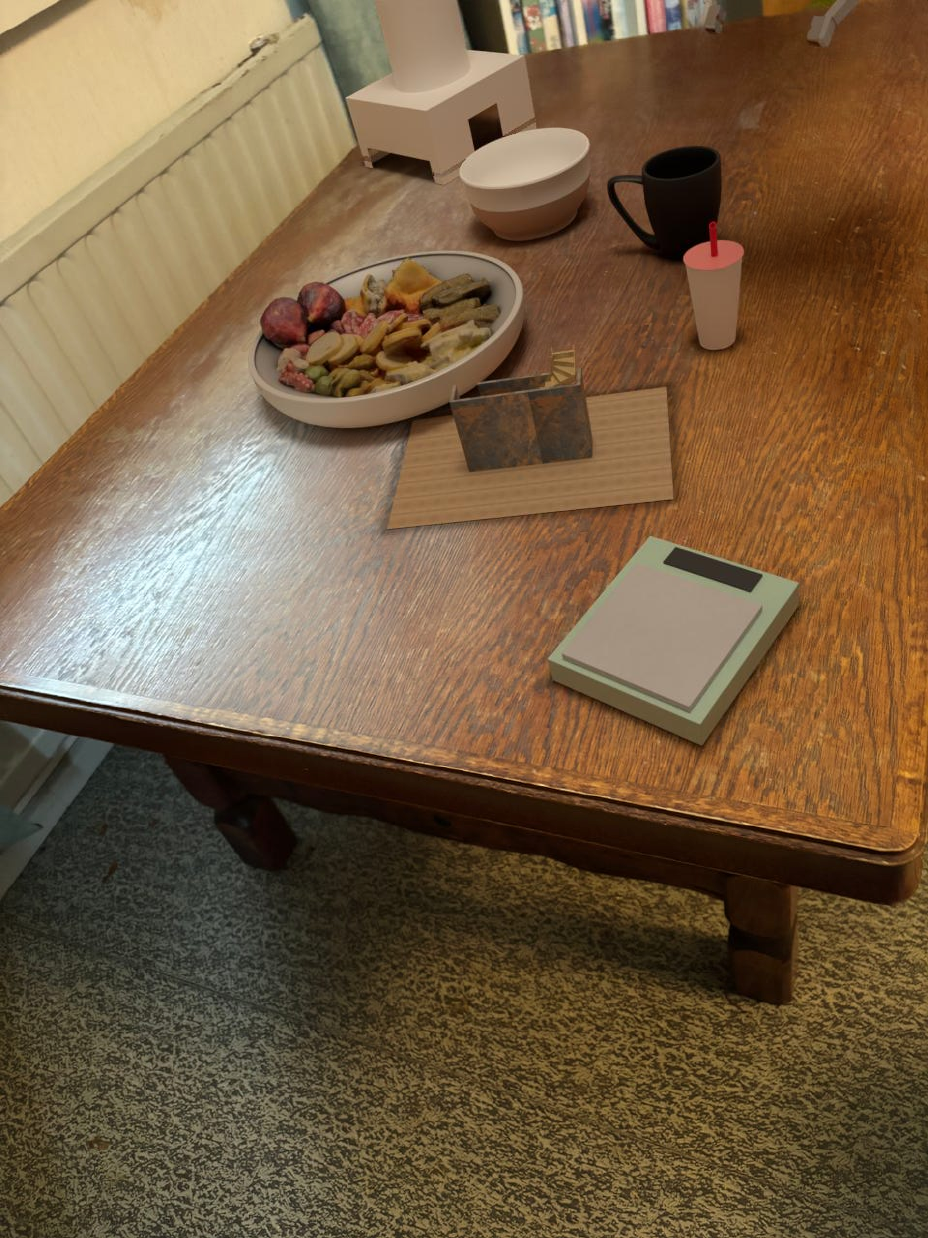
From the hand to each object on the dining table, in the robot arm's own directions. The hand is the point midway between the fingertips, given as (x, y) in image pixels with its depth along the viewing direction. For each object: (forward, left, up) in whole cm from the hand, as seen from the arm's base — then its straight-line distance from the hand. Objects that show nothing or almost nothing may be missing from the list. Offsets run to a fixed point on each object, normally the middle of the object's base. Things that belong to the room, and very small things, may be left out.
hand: (761, 37), depth 80 cm
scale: (-15, +44, -24) cm, 52 cm away
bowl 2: (+36, -10, -24) cm, 44 cm away
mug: (+15, -7, -24) cm, 29 cm away
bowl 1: (+32, +22, -24) cm, 45 cm away
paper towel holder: (+64, -27, -24) cm, 73 cm away
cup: (+1, +8, -24) cm, 26 cm away
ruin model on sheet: (+8, +30, -24) cm, 39 cm away
